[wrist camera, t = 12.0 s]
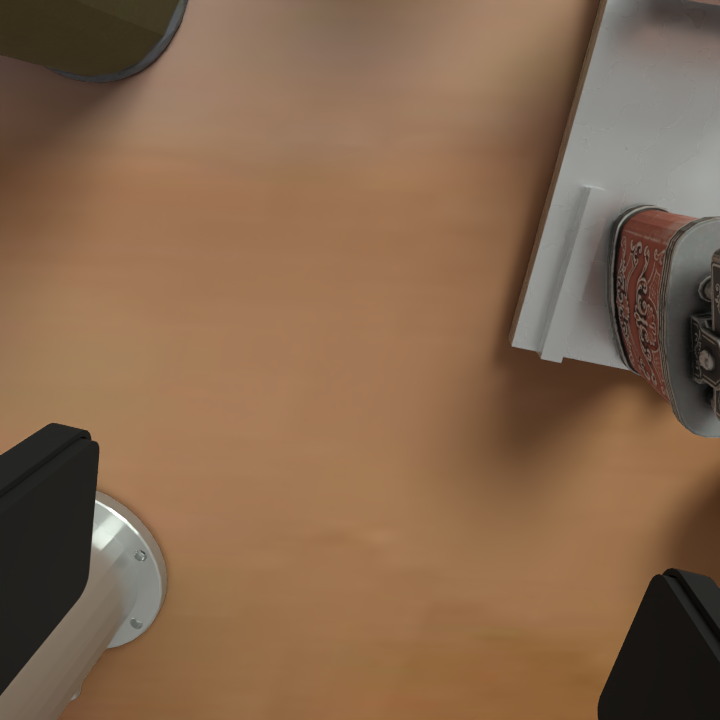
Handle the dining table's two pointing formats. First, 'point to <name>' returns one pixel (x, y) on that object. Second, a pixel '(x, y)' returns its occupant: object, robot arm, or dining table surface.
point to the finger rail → (622, 164)
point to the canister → (89, 34)
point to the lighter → (669, 308)
